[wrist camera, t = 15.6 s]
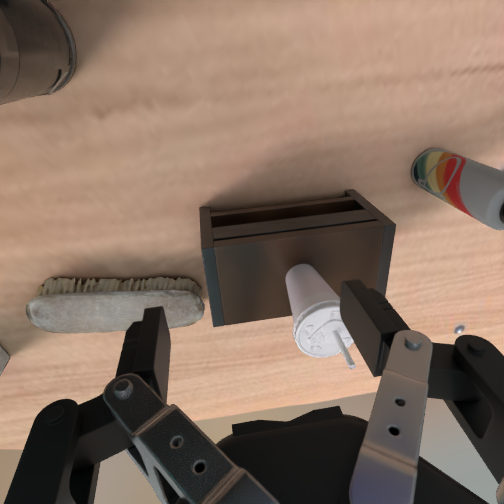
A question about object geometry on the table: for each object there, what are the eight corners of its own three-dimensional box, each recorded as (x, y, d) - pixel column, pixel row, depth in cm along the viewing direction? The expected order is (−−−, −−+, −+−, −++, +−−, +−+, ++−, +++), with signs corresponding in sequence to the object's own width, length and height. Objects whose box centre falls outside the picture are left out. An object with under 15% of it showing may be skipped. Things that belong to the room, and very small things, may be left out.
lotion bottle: (404, 164, 49) (517, 223, 32) (440, 138, 48) (578, 184, 31) (419, 194, 52) (532, 263, 35) (453, 170, 51) (588, 228, 34)
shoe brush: (42, 318, 53) (28, 342, 48) (30, 276, 49) (14, 297, 45) (203, 311, 57) (204, 332, 52) (203, 271, 53) (204, 290, 49)
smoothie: (332, 287, 43) (388, 378, 31) (283, 306, 43) (319, 405, 31) (319, 245, 40) (375, 328, 27) (266, 266, 40) (299, 358, 28)
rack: (209, 274, 53) (213, 327, 43) (199, 207, 48) (201, 249, 38) (348, 255, 56) (384, 301, 45) (354, 189, 50) (396, 224, 40)
